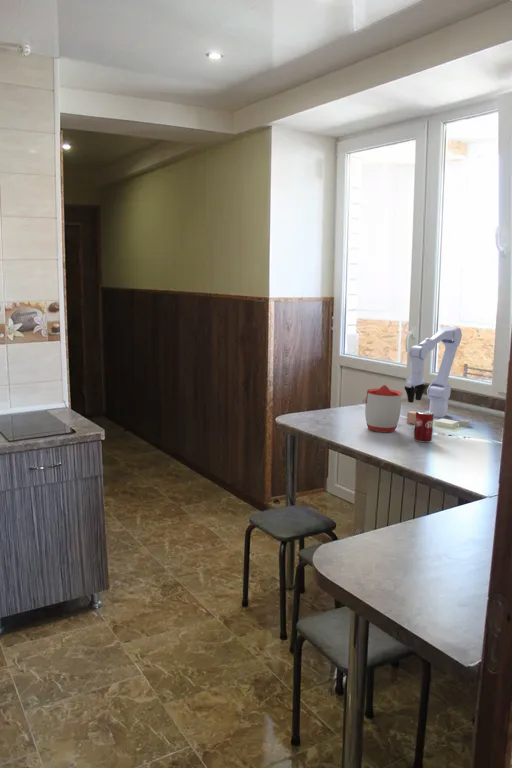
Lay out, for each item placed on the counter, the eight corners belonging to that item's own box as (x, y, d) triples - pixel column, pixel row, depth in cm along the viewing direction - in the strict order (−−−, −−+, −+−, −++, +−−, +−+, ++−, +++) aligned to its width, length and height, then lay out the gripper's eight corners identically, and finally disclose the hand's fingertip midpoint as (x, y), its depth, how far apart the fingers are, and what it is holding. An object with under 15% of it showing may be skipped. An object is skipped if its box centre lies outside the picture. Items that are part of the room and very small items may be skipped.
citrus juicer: (360, 423, 294) (363, 380, 290) (399, 427, 291) (402, 383, 287) (358, 431, 279) (361, 386, 275) (399, 435, 276) (403, 389, 272)
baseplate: (436, 421, 304) (437, 419, 304) (470, 428, 294) (470, 425, 294) (421, 427, 292) (421, 425, 292) (455, 434, 282) (455, 431, 282)
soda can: (432, 439, 271) (434, 411, 269) (430, 443, 264) (433, 415, 262) (414, 437, 273) (416, 409, 271) (412, 441, 266) (415, 413, 264)
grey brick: (460, 424, 297) (460, 419, 296) (469, 425, 295) (470, 420, 294) (459, 426, 293) (459, 420, 292) (468, 427, 291) (468, 421, 291)
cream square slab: (441, 422, 299) (442, 418, 298) (458, 425, 294) (458, 421, 293) (434, 425, 293) (434, 420, 292) (450, 428, 288) (451, 424, 287)
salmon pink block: (410, 421, 303) (411, 411, 302) (418, 422, 301) (419, 412, 300) (406, 422, 300) (407, 412, 299) (414, 424, 298) (415, 413, 297)
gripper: (416, 369, 304) (413, 397, 307) (401, 372, 293) (399, 401, 296) (430, 371, 300) (427, 400, 302) (415, 374, 289) (413, 404, 291)
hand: (414, 401), depth 299 cm, fingers open, 7 cm apart
